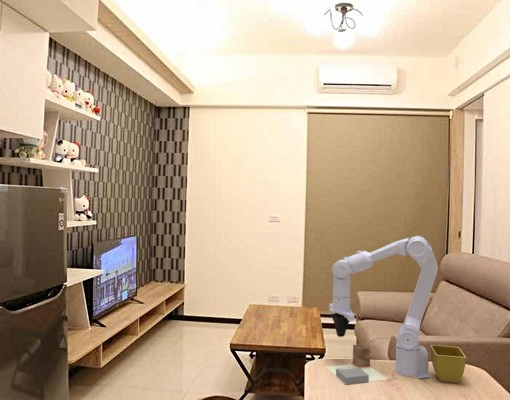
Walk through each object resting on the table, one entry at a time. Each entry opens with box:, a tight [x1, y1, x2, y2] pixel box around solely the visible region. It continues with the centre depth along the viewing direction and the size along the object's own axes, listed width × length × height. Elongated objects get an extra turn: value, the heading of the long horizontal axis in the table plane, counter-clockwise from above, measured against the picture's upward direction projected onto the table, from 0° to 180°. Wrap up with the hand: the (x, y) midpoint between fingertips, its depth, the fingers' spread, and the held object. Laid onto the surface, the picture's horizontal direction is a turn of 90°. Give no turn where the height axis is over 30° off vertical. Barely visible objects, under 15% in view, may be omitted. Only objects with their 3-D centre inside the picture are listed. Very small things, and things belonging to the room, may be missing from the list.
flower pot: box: [429, 344, 467, 384], centre depth 133 cm, size 9×9×9 cm
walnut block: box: [352, 343, 371, 368], centre depth 140 cm, size 4×4×6 cm
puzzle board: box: [325, 361, 388, 385], centre depth 135 cm, size 14×14×1 cm
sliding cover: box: [335, 367, 370, 385], centre depth 130 cm, size 8×6×2 cm
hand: (340, 336), depth 143 cm, fingers closed
